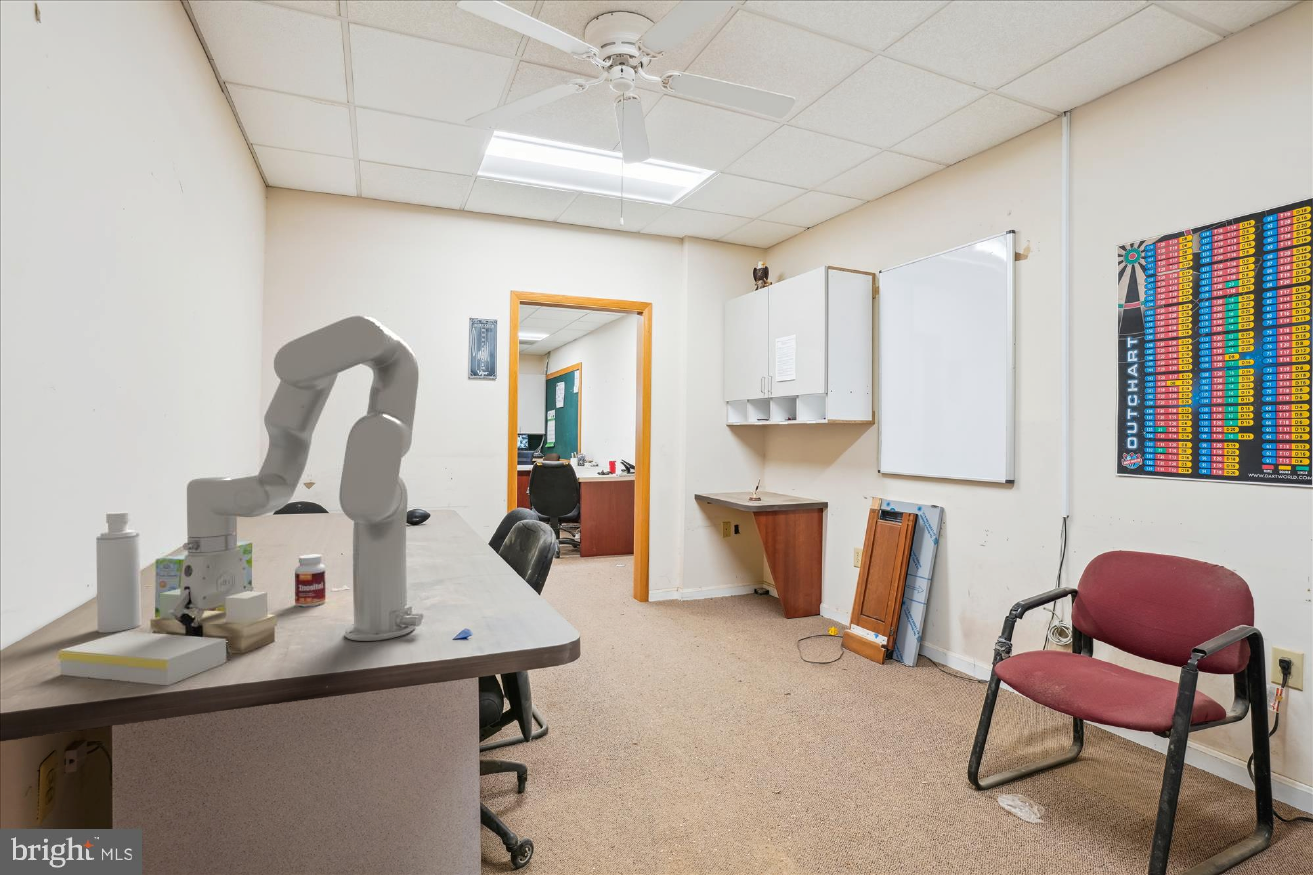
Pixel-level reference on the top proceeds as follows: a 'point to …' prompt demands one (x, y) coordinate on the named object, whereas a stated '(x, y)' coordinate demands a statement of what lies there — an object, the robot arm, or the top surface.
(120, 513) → the white tall bottle
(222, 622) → the pallet
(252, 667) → the top surface
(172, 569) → the snack box
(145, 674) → the block
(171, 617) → the block
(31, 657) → the top surface
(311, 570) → the pill bottle
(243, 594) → the block
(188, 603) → the robot arm
